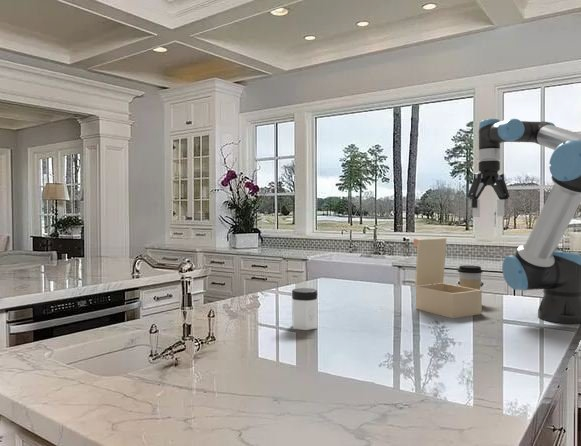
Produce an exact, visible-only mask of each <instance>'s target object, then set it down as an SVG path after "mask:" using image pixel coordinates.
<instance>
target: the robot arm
mask: <svg viewBox="0 0 581 446" xmlns="http://www.w3.org/2000/svg"><path fill="white" fill-rule="evenodd" d="M478 124H479V127H478V161H479V162H478V171H479V172H475V173H474V174H473V179H472V182H471V184H470V188H469V191H468V193H467V198H469V200H471V208H472V218H475V217H476V218H480V217H481V212H480V211H481V199H479V198H480V196H481V194H482V193H483V191H484V189H485V188H486V187H487V186H490V187H492V188H493V190H494V192H495V194H496V196H497V197H498V199H497V200H496V201H497V206H496V208H497V209H496V211H497V213H496V216H497V217H505V211H506V210H505V207H506V200H509V198H510V193H509V191H508V187H507V184H506V181H505V174H504V173H498V172H500V170H501V161H500V160H501V143H502V144H503V143H532V144H533V143H534V144H537V145H539V146H543V147H545V148H548V149H550V150H553V152H552V153H551V156H550V159H549V162H548V163H549V164H550V166H549V168H548V169H549V172H550V174H551V181H552V182H553V186H552V187H551V190H550V192H549V194H548V196H547V199H546V201H545V203H544V204H543V206H542V209H541V211H540V213H539V215H538V217H537V219H536V221H535V224H534V226H533V227H532V230H531V232H530V233H529V235H528V238H527V240H526V242H525V243H522V244H521V245H519V246H518V247H517V249H516V251H515V254H514V255H513V254H510V255H507V256H505V258H504V259H503V261H502V267H501V269H502V275H503V279H504V281H505V283H506V284H507V286H508V287H509V288H511V289H512V290H515V291H533V290H535V291H536V290H543V297H542V299H541V302H540V304H539V307H538V309H537V317H538V318H539V319H541V320H544V321H549V322H554V323H561V324H575V325H576V324H581V254H579V253H573V252H565V251H564V252H563V251H556V250H557V247H558V245H559V244H560V242H561V240H562V238H563V236H564V235H565V232H566V231H567V228H568V226H569V225H570V223H571V221H572V219H573V217H574V216H575V213H576V211H577V210H578V207H579V206H580V204H581V133H578V132H575V131H572V130H568V129H565V128H562V127H559V126H556V125H555V124H554V122H550V121H545V120H544V121H542V120H541V121H526V120H524V121H523V120H520V119H517V118H510V119H505V120H502V121H501V120H500V119H498V118H487V119H483V120H480V121H479V123H478Z"/></svg>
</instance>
